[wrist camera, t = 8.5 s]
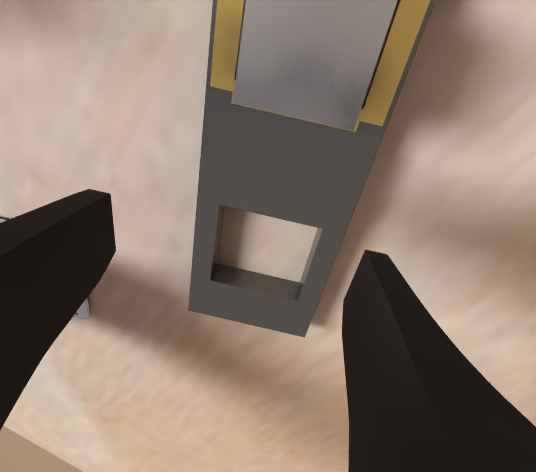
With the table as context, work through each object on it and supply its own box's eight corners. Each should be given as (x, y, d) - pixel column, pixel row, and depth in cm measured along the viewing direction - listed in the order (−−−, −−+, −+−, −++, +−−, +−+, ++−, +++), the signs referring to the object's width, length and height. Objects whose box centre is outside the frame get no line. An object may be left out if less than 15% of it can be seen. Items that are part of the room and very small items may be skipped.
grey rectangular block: (260, 65, 17) (232, 102, 12) (278, -44, 14) (252, -53, 9) (346, 85, 17) (353, 130, 12) (377, -21, 14) (403, -18, 9)
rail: (195, 293, 26) (187, 311, 25) (244, -230, 12) (232, -257, 10) (305, 319, 26) (304, 338, 24) (489, -173, 12) (511, -192, 10)
